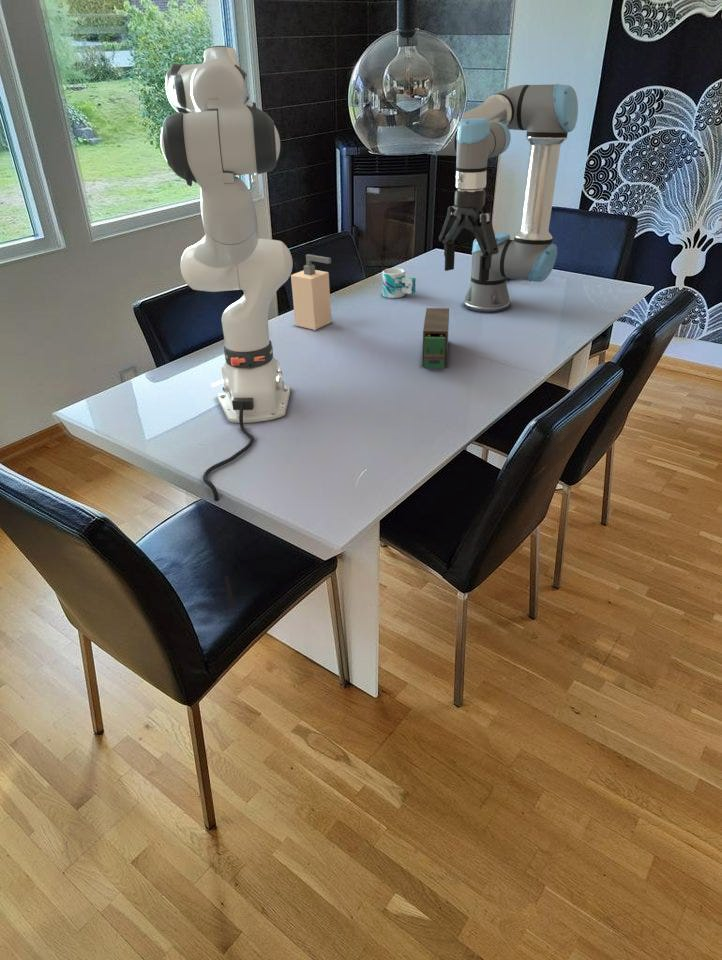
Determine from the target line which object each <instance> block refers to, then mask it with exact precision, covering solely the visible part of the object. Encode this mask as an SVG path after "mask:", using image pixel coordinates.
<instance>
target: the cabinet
mask: <svg viewBox="0 0 722 960" xmlns="http://www.w3.org/2000/svg"><path fill="white" fill-rule="evenodd" d="M425 310H426V311H425V315H424V321H423V322H424V323H423V330H422V367H423V368H424V349H425V337H428V334H444V337H445V362H444V368H448V367H447V366H448V350H449V349H448V348H449V347H448V346H449V329H450V327H449V325H450V324H449V323H450V307H449V308H447V307H445V308H444V307H438V308H437V307H426V308H425Z"/></svg>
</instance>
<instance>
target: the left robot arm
mask: <svg viewBox="0 0 722 960" xmlns="http://www.w3.org/2000/svg"><path fill="white" fill-rule="evenodd" d="M247 76H248V74H247V73H246V71H244V69H242V68H241V65H240V62H239V57H238V54H237V51H236V49H235V48H234V47H232V46H228V45H212V46H210V47H207V48H206V49H204V51H203V62H201V63H194V64H193V63H192V64H185V63H172V65H171V66H170V67H169V68H168V70H167V71H166V76H165V83H164V84H165V85H164V86H165V93H166V97H167V99H168V102H169V103H170V105H171V108H172V109H173V110H174V111H176V112H174V113H173V114H169V115H167V116H165V118H164V120H163V122H162V128H161V131H160V139H159V140H160V148H161V152H162V155H163V157H164V160H165V161H166V162H167V166H168V167H169V169H170V170H171V171H172V172H173V173H175V175H176V176H177V177H178V178H181V179H182V180H184V181H185V182H186V186H189V187H192V186H193V183H195V184H197V185H198V186H199V190H200V191H199V192H200V214H201V221H202V226H203V230H204V236H203V237H202V238H201V239H200V240H199V241H198V242H196V243H195V244H193V245H190V246H188V247H187V248H185V250H184V251H183V253H182V255H181V258H180V264H179V265H180V266H179V268H180V269H179V270H180V274H181V277H182V279H183V280H184V282H185V284H186V285H187V286H188V287H189V288H190V289H192V290H194V291H200V292H209V293H216V292H228V291H239V290H240V291H243V295H242V296H241V297H240V298H239V299H238V300H236V301H235V302H233V303H231V304H230V305H229V306H227V307H226V308H225V309H224V311H223V312H222V315H221V327H222V333H223V334H222V335H223V340H224V345H223V355H224V359H225V363H224V364H223V365H222V366H221V367H220V369H221V377H222V379H220V380H218V381H216V382H213V383H211V387H212V388H213V387H216V386H219V385H220V384H223V386H222V392H219V393H218V394H217V401H218V403H219V404H220V405H219V406H220V407H221V409H222V411H223V413H224V415H225V418H226V419H227V421H228V422H229V423H235V424H236V423H237V424H239V428H240V430H241V432H242V433H243V434H244V435H245V436H246V437H247V438H248V439H249V442H248V443H247V444H246V445H245V446H244V447H242V448H241V449H240V450H239V451H237V452H236V453H234V454H233V455H231V456H230V457H228V458H225V459H224V460H221V461H219V462H217V463H215V464H213V465H211V466H210V467H208V468H207V469H206V470H205V471H204V473H203V475H202V480H203V482H204V483H205V484H206V485H207V486H208V487H209V488H210V489H211V492H212V494H213V498H214V499H213V500H214V501H215V502H218V501H219V500H220V499H219V493H218V490H217V488H216V486H215V485H214V484H213V482H212V481H211V480H210V479H208V476H209V475H210V473H211V472H212V471H214V470H216V469H218V468H220V467H223V466H224V465H227V464H228V463H230V462H232V461H234V460H236V459H237V458H238V457H240V456H241V455H243V454H244V453H245V452H247V451H248V450H249V449H250V448H251V447H252V446H253V444H254V441H255V440H254V439H255V438H254V436H253V435H252V434H250V433H249V432H248V431H247V430H246V429H245V426H244V424H249V423H258V422H266V421H272V420H276V419H279V418H283V417H284V416H285V415H286V413H287V409H288V405H289V399H290V396H291V392H292V391H291V387H290V386H288V385H285V381H284V380H282V376H283V371H282V370H281V364H280V361H279V360H278V359H276V358H275V357H274V348H273V347H274V346H273V344H272V341H271V339H270V331H269V330H270V329H269V309H270V306H271V303H272V300H273V298H274V295H275V294H276V293H277V291H278V290H279V289H280V288H281V287H282V286H283V285H284V284H285V283H286V282H287V281H288V280H289V278H290V277H291V275H292V271H293V267H294V266H293V264H294V263H293V257H292V254H291V251H290V249H289V247H288V246H287V245H286V244H285V243H284V242H283V241H282V240H277V239H271V238H259V227H258V217H257V216H258V215H257V210H256V205H255V202H254V199H253V196H252V194H251V191H250V189H249V188H248V186H247V184H246V183H245V181H243V180H242V179H241V178H239V177H238V176H243V175H245V176H246V175H250V178H251V184H258V183H259V181H258V180H259V179H258V176H259V175H261V174H262V175H263V174H265V173H266V174H267V173H268V172H269V173H270V172H271V171H273V170H274V169H275V168H276V166H277V165H278V164H277V162H278V160H279V157H280V153H281V138H280V133H279V131H278V129H277V127H276V125H275V121H274V120H273V118H272V117H271V116H270V115H269V114H268V113H267V112H265V111H264V110H262V109H260V108H258V107H257V103H256V102H254V101H252V106H251V105H248V104H247V103H248V101H249V100H250V95H249V90H248V81H247V80H248V79H247ZM223 578H224V582H225V587H226V592H227V597H228V603H229V607H230V609H231V608H232V609H233V608H234V609H235V605H234V598H233V594H232V589H231V583H230V577H229V575H225V576H224V577H223Z"/></svg>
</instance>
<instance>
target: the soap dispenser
mask: <svg viewBox="0 0 722 960" xmlns="http://www.w3.org/2000/svg"><path fill="white" fill-rule="evenodd" d="M305 262H306V263H305V265H303V270H300V271H298V272H295V273H292V274H290V281H291V282H290V283H291V292H292V304H293V311H294V312H293V315H294V325H295V326H297V327H301V328H304V329H310V330H313V331H316V330H318V329H320V328H322V327H324V326H326V325H329V324H331V323H333V322H332V306H331V290H330V289H331V288H330V273H329V271H325V270H324V271H323V270H318V269H316V265H315V264H313V263H312V262H317V263H321V264H326V265H327V264H328V265H329V264H332V258H331V257H327V256H322V255H315V254H309V253H307V254H305Z"/></svg>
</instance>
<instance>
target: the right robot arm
mask: <svg viewBox="0 0 722 960" xmlns="http://www.w3.org/2000/svg"><path fill="white" fill-rule="evenodd" d="M578 101H579V100H578V96H577V92H576V90H575V89H574V87H573V86H571V85H569V84H560V83H555V84H519V85H515V86H511V87H509V88H505V89H503V90H500V91H498V92H496V93H493V94H492V95H489V96H488V97H487V98H486V99H485V100H484V101H483V103H482V104H480V105H478V106H475V107H474V108H471V109H469V110H467V111H465V112H463V113H464V114H463V113H462V114H463V118H462V121H461V123H460V126H459V127H458V129H457V131H456V133H455V135H454V136H453V138H452V139H451V141H450V142H449V143H448V145H447V146H446V147H445V148H444V149H442V150H440V151H438V152H433V153H426V154H427V155H435V156H451V157H452V156H454V157H456V160H455V161H456V163H455V164H456V165H455V182H454V183H455V184H454V185H455V188H456V190H455V191H454V205H451V206H448V207H447V213H446V217H445V220H444V223H443V225H442V229H441V231H440V234H439V236H438V241H439V242H442V244H443V247H444V248H443V257H444V271H446V272H447V271H451V270H455V256H456V255H455V254H456V253H455V252H456V244H455V240H456V239H457V237H458V236H459V235H460V233H461V232H462V231H463V229H466V230H469V231H470V232H471V233H472V234H473V236H474V238H475V239H474V240H473V242H472V250H471V269H470V283H469V286H468V289H467V291H466V294H465V295H464V296H465V297H464V299H463V306H464V307H465V308H466V309H468V310H470V311H473V312H477V313H497V312H503V311H505V310H508V309H509V308H510V306H511V298H510V295H509V290H508V285H507V282H508V281H509V280H510V278H513V279H512V280H521V281H527V282H531V283H532V282H536V283H540V282H541V283H542V282H544V281H545V280H547V279H548V278H549V276H550V275H551V273H552V271H553V269H554V267H555V264H556V261H557V256H558V247H557V245H556V244H554V243H553V236H552V234H551V233H550V231H549V229H550V222H551V216H552V210H553V209H552V208H553V201H554V195H555V188H556V180H557V174H558V166H559V159H560V151H561V145H562V144H563V143H564V142H565V141H566V140H567V139H568V133H571V132H572V131H574V129H575V128H576V124H577V121H578V115H579V102H578ZM510 130H514V131H526V137H525V139H526V140H527V141H528V142H529V144H530V145H529V153H528V161H527V162H528V163H527V169H526V170H527V171H526V179H525V188H524V197H523V204H522V212H521V220H520V228H519V230H518V231H517V232H516V233H515V234H514V238H513V239H511V235H510V233H507V232H495V231H494V227H493V221H492V218H493V215H492V213H491V212H487V213H483V207H484V206H485V204H486V190H485V188H486V187H487V173H488V159H491V158H496V157H498V156H500V155H501V154H503V153H505V152H506V151H507V149H508V148H509V147H510V144H511V140H512V139H511V138H512V135H511V131H510Z"/></svg>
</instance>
